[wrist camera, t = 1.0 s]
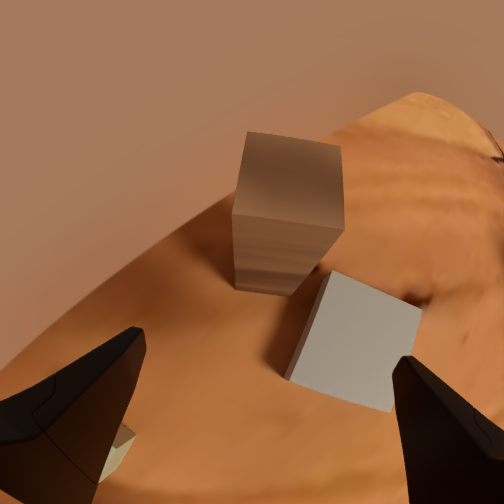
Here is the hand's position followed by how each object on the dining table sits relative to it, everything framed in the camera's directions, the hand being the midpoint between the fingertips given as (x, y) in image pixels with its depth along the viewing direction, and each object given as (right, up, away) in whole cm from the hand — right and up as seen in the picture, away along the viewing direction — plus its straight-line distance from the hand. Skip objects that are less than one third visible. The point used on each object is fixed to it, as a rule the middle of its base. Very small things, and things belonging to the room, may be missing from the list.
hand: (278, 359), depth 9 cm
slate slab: (+7, -5, +13) cm, 16 cm away
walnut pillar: (0, +2, +15) cm, 15 cm away
